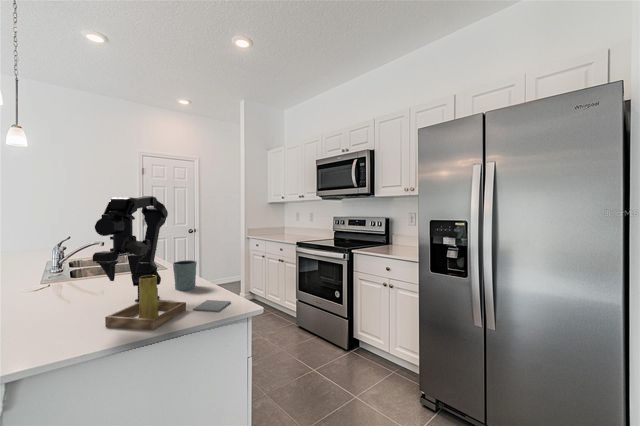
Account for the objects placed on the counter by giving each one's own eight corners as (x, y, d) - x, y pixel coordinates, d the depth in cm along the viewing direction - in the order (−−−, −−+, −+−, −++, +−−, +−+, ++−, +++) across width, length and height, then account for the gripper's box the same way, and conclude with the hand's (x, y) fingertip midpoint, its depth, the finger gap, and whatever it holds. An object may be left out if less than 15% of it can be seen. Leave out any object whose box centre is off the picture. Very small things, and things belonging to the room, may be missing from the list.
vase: (149, 322, 98) (148, 279, 98) (133, 320, 100) (133, 278, 99) (162, 315, 104) (162, 275, 104) (147, 313, 106) (147, 274, 105)
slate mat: (193, 310, 109) (193, 308, 109) (207, 301, 119) (207, 299, 119) (218, 311, 108) (218, 310, 108) (230, 302, 118) (230, 301, 118)
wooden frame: (105, 326, 95) (105, 317, 95) (144, 307, 112) (144, 299, 112) (153, 329, 92) (153, 320, 92) (185, 310, 109) (185, 302, 109)
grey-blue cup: (181, 292, 131) (181, 265, 131) (168, 288, 136) (168, 262, 136) (201, 286, 140) (201, 261, 139) (188, 283, 145) (188, 259, 145)
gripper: (121, 236, 93) (122, 285, 93) (161, 231, 111) (162, 272, 112) (90, 235, 95) (91, 284, 95) (135, 231, 113) (135, 271, 113)
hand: (123, 277), depth 104 cm, fingers open, 9 cm apart
